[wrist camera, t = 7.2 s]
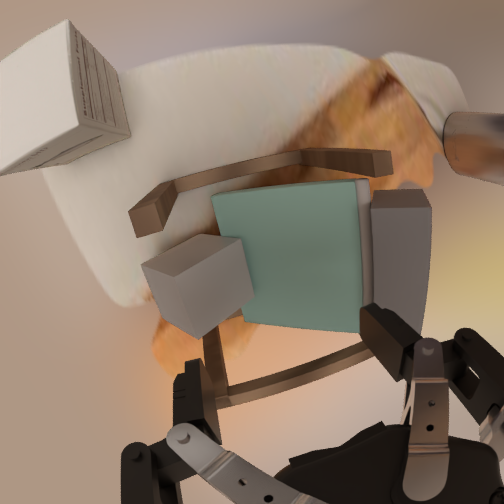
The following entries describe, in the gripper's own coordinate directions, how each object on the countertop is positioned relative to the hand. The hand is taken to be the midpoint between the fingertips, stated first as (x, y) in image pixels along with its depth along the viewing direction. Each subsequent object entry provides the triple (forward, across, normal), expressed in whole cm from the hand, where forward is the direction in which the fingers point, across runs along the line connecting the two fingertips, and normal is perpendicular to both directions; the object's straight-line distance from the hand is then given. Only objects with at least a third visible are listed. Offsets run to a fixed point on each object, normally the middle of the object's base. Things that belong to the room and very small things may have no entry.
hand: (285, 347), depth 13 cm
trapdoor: (+9, -6, 0) cm, 11 cm away
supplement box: (+16, +10, -16) cm, 25 cm away
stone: (+11, +2, 0) cm, 11 cm away
